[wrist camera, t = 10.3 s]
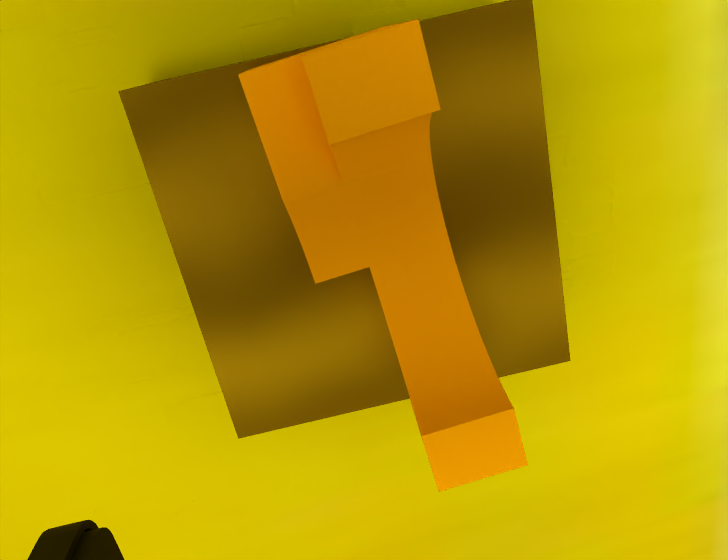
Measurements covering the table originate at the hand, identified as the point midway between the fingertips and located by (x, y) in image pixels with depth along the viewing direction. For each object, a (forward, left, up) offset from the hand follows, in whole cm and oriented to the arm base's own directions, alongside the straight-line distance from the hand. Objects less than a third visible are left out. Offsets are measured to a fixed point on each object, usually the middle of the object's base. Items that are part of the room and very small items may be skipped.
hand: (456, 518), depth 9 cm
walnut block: (0, 0, -18) cm, 18 cm away
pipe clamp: (0, 0, -14) cm, 14 cm away
